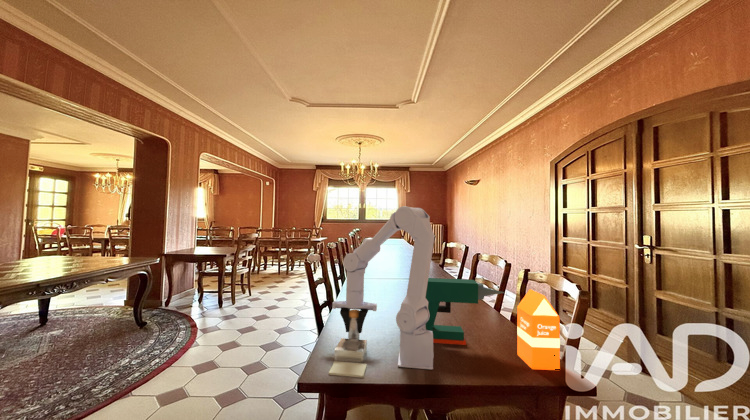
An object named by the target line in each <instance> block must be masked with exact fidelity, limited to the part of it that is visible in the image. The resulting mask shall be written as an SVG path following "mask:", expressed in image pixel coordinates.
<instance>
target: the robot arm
mask: <svg viewBox="0 0 750 420" xmlns="http://www.w3.org/2000/svg"><path fill="white" fill-rule="evenodd" d="M430 218H431V216H430V215H429V214H428V213H427V212H426V211H425V210H424V209H423V208H421V207H411V206H407V205H402V206H400V207H398V208H397V209H396V210H395V211H394V212H393V213H391V215H390V217H389V219H388V220H387V221H386V223H385V224H384V225H383V226H381V228H380V229H379V230H378V232H376V233H375V235H374V236H373V237H367V238H363V240H362V243H361V244H360V245H359V246H358V247H357V248H355V249H354V250H353V252H350V253H349V252H348V253H346V255H345V256H344V258H343V266H344V269H345V270H346V290H345V291H346V293H345V300H337V301H336V300H335V301H333V302H332V306H331V307H332V310H334V309H335V310H336V309H340V311H339V313H340V316H341V318H342V321H343V324H344V327H345V333H348V332H349V311H350V310H359V311H360V312H359V334H362V332H363V325H364V322H365V320H366V317H367V315H368V312H369V311H372V312H377V309H378V304H377V303H374V302H373V303H372V302H366V301H364V297H365V295H364V291H365V290H364V288H365V286H364V285H365V284H364V283H365V274H366V269H367V267H368V266H369V262H370V261H371V260H372V259H373V258H375V257H376V255H377V254H379V253H380V251H381V245H382V244H384V243H386V241H387V240H388V239H390V238H391V237H392V236H393V235H394V234H396V233H397V232H398V231H404V232H405V233H407V234H408V235H409V236H410V237H411V239H412V240H413V250H412V257H411V262H410V263H411V264H410V270H409V277H408V282H407V288H406V289H407V290H406V295H405V296H404V299H403V301H402V302H401V304H400V305H401V306H400V309H399V310H398V312H397V313H396V317H395V322H396V325H397V327H398V329H399V333H400V334H399V339H400V340H399V341H400V342H399V352H398V360H397V367H400V368H406V369H407V368H409V369H411V368H412V369H421V370H434V358H435V357H434V356H435V354H434V343H433V332H432V331H429V330H426V323H427V322H428V320H429V317H430V314H429V310H428V301H427V299H426V298H425V297H426V290H427V284H428V278H430V276H429V275H430V270H431V263H432V256H433V249H434V243H435V233H434V230H433V228H432V224H431V221H430Z"/></svg>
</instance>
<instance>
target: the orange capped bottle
mask: <svg viewBox="0 0 750 420" xmlns="http://www.w3.org/2000/svg"><path fill="white" fill-rule="evenodd" d="M359 312H360V310H358V309H350V311H349V332H347V333H348V335H347V336H348V337H347V339H357V340H360V333H359Z"/></svg>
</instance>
